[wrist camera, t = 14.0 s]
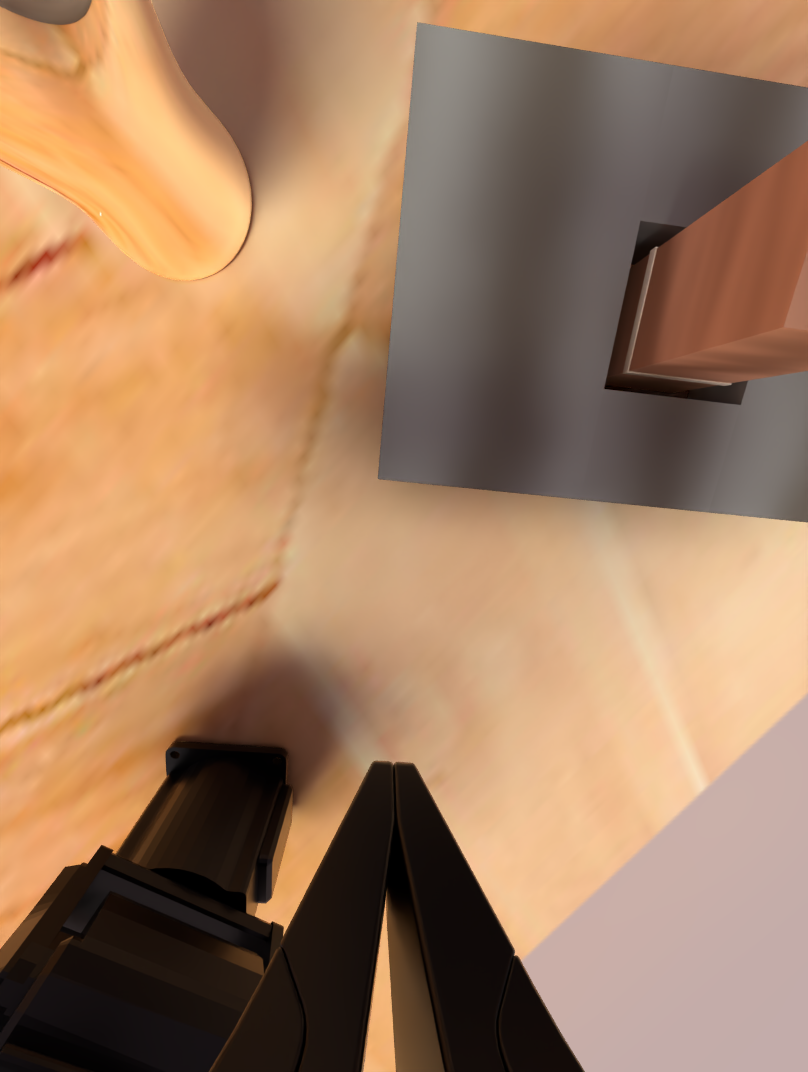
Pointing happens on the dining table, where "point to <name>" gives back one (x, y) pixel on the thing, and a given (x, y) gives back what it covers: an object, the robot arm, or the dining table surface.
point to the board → (573, 278)
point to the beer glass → (120, 132)
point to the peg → (722, 292)
